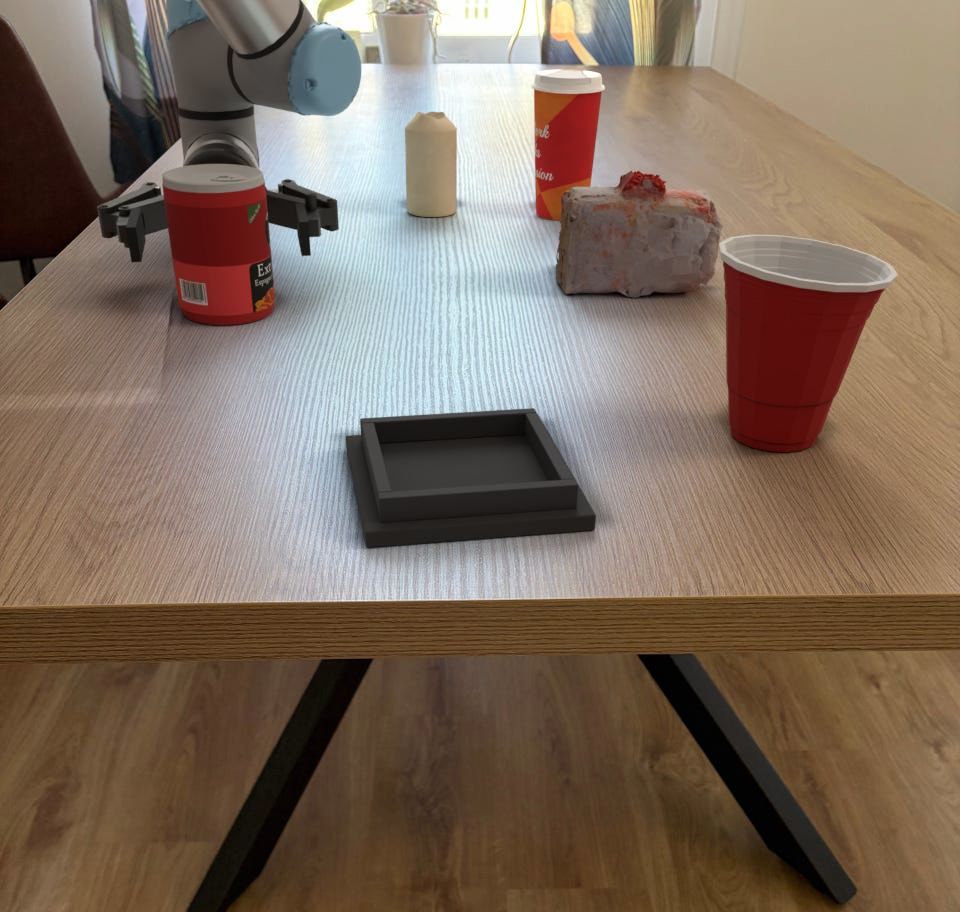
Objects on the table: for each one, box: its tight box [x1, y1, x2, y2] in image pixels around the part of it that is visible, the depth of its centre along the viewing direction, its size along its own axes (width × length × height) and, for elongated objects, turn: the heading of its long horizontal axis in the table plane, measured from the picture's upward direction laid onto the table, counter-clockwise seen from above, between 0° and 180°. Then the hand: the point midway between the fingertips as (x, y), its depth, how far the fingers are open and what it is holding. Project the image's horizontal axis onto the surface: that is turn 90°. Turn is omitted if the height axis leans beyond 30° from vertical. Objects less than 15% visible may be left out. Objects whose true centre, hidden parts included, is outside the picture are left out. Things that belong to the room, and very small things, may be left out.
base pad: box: [345, 407, 597, 548], centre depth 67 cm, size 13×13×2 cm
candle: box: [404, 111, 458, 218], centre depth 121 cm, size 6×6×10 cm
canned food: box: [161, 164, 276, 326], centre depth 91 cm, size 8×8×11 cm
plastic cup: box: [718, 234, 899, 453], centre depth 71 cm, size 11×11×12 cm
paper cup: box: [530, 68, 606, 221], centre depth 120 cm, size 8×8×14 cm
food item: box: [555, 170, 724, 298], centre depth 99 cm, size 14×8×10 cm, turn 95°
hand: (220, 242), depth 90 cm, fingers open, 13 cm apart
